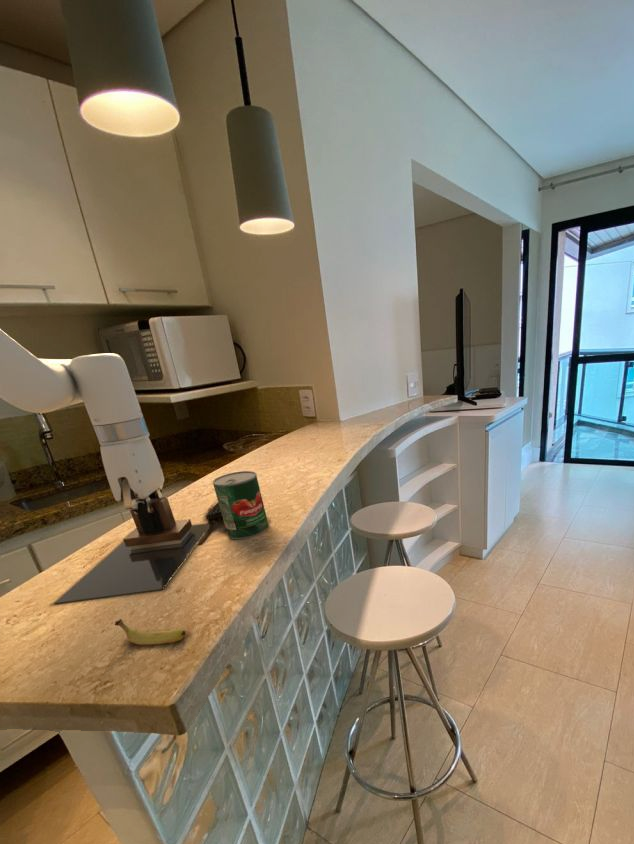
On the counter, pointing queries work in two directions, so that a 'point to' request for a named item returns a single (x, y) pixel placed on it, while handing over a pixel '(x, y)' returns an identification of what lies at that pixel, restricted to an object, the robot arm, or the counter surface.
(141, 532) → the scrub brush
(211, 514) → the hairbrush
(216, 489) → the canned tomato
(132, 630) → the banana
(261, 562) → the counter surface
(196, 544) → the slate board
